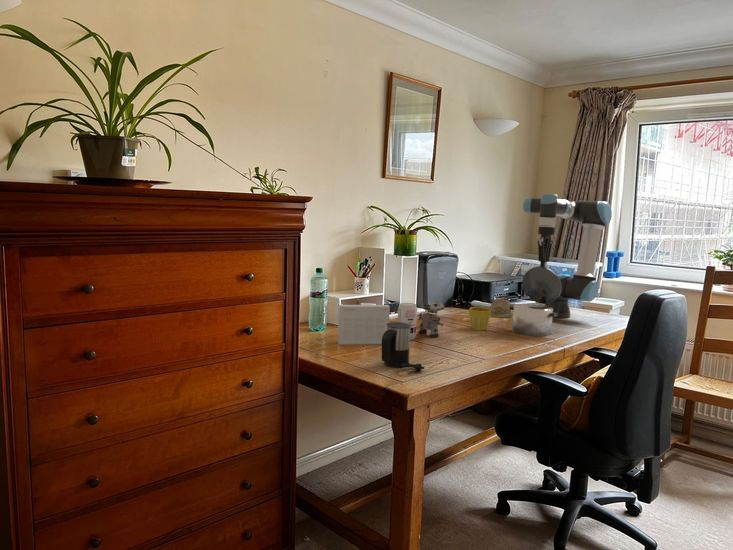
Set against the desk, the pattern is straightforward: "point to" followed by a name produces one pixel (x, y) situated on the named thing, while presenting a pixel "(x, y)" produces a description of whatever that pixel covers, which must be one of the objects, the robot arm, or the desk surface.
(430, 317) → the figurine
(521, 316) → the cooker pot
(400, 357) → the milk frother
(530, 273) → the lid
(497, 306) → the ceramic model
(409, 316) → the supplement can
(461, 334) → the desk surface
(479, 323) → the plant pot
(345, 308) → the skincare box
